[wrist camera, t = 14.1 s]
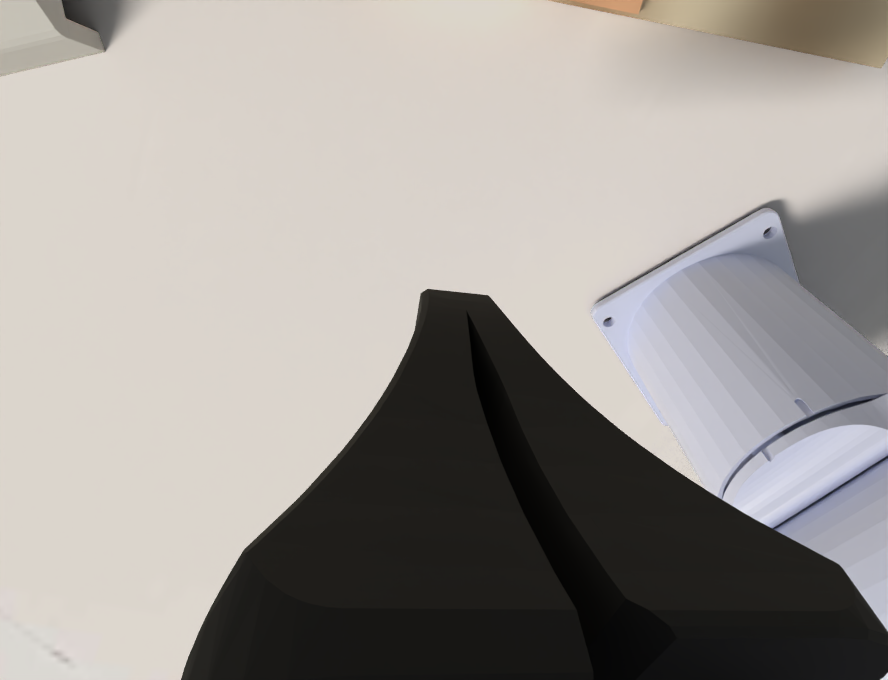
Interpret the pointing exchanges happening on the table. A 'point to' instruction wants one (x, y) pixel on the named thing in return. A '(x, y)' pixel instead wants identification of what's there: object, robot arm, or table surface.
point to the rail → (773, 23)
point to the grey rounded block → (41, 36)
